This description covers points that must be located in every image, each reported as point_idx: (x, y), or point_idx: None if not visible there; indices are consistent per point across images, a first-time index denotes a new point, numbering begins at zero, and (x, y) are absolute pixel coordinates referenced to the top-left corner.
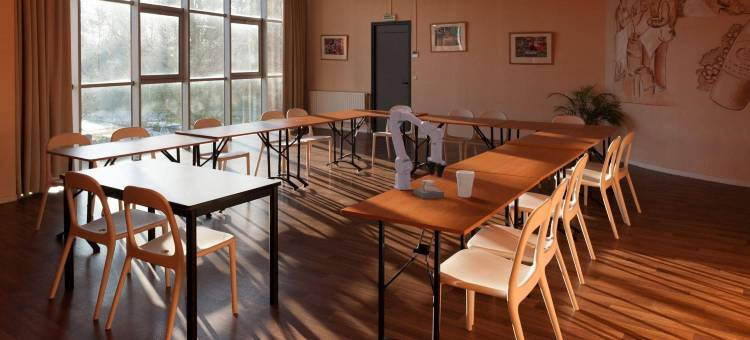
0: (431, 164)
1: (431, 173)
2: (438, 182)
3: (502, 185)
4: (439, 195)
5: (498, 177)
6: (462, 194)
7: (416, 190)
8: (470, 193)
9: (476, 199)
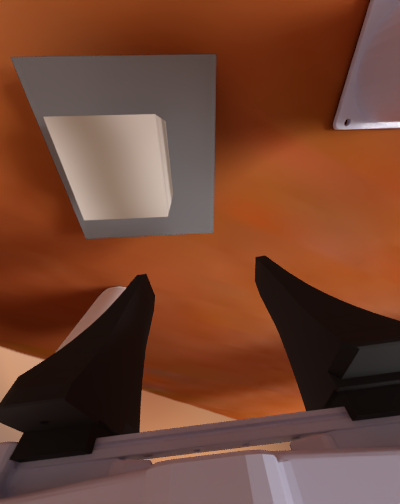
0: (311, 352)
1: (259, 270)
2: (362, 296)
3: (231, 391)
4: None
5: None
6: (97, 299)
7: (160, 57)
8: None
9: (66, 316)
